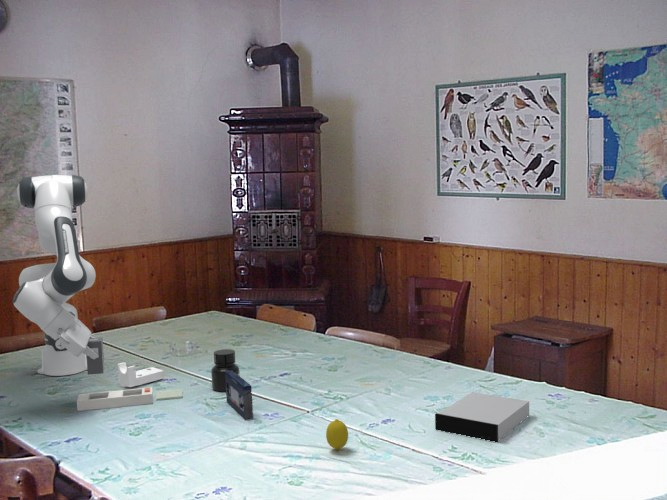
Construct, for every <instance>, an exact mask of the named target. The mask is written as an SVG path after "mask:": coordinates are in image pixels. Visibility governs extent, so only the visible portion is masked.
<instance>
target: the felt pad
mask: <svg viewBox="0 0 667 500" xmlns="http://www.w3.org/2000/svg"><path fill="white" fill-rule="evenodd" d="M155 396H156V397H155V401H168V400H176V399H177V400H179V399H183V388H174V389H165V390H156V391H155Z"/></svg>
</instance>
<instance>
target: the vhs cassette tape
mask: <svg viewBox="0 0 667 500" xmlns="http://www.w3.org/2000/svg"><path fill="white" fill-rule="evenodd" d="M225 378H226V379H225V383H226V392H225V394H226V395H225V396H226V403H227V404H228V406H230V407H231V409H233V410H234V411H235V412H236V414H238V415H239V416H240V417H241V418H242V419H243V420H244V421H249V420H253V419H254V412H253V411H254V409H253V393H252V392H253V391H252V385H251V384H250V383H249V382H248V381H246V380H245V379H244V378H243V377H241V375H240V376H239V375H237V374H236V373H235V372H233V371H232V370H229V371H225Z"/></svg>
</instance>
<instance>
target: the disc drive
mask: <svg viewBox="0 0 667 500" xmlns="http://www.w3.org/2000/svg"><path fill="white" fill-rule="evenodd" d="M527 416H529V417H530V401H529V400H523V399H517V398H513V397H511V398H510V397H506V396H498V395H492V394H486V393H480V392H474V391H472V392H470V393H469V394H467V395H465V396H464V397H463V398H461V399H459V400H458V401H456V402H454V403H452V404H451V405H449V406H448V407H446V408H444V409H443V410H441V411H440V412H436V413H434V422H435V423H434V425H435V427H434V428H435V429H436V430H435V429H434V430H435V431H438V430H441V431H440V432H443V431H445V432H444V433H448V432H450V433H449V434H453V433H456V434H455V435H458V434H461V435H460V436H462V435H466V436H465V437H467V436H470V437H469V438H472V437H475V438H474V439H477V438H481V439H480V440H482V439H485V440H484V441H487V440H490V441H489V442H491V441H495V442H494V443H496V442H497V443H498V442H499V441H500V440H501V439H503V438H504V437H505V436H506V435H508V434H509V433H510V432H511V431H513V430H514V429H515V428H516V427H518V426H519V425H520V424H521V423H522V422H521V421H523V420H524V419H525V418H526V417H527ZM526 419H527V418H526ZM526 419H525V420H526ZM525 420H524V421H525ZM524 421H523V422H524ZM520 422H521V423H520ZM519 423H520V424H519ZM518 424H519V425H518ZM517 425H518V426H517ZM514 427H515V428H514ZM513 428H514V429H513ZM512 429H513V430H512ZM510 430H511V431H510ZM509 431H510V432H509ZM508 432H509V433H508ZM507 433H508V434H507ZM504 435H505V436H504ZM503 436H504V437H503ZM502 437H503V438H502ZM499 439H500V440H499ZM498 440H499V441H498Z"/></svg>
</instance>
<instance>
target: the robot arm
mask: <svg viewBox="0 0 667 500" xmlns="http://www.w3.org/2000/svg"><path fill="white" fill-rule="evenodd" d="M88 190H89V188H88V184H87V183H86V181H85V179H84V177H82V176H80V175H77V174H76V175H75V174H72V175H69V174H68V175H67V174H66V175H65V174H49V175H38V176H26V177H23V178H21V179H20V180H19V181H18V185H17V188H16V197H17V199H18V200H19V202H20V205H22V206H23V207H24V208H26V209H27V208H28V209H34V221H35V227H36V231H37V232H38V244H39V248H41V250H43V251H44V252H46V253H48V254H51V255H54V256H56V262H51V263H42V264H35V265H31V266H28V267H26V268H23V269H22V270H21V272H20V274H19V277H18V284H19V288H18V289H17V290H16V292H15V294H14V295H13V297H12V298H13V299H12V304H13V306H14V307H15V309H17V311H19V313H20V314H22V315H23V317H25V318H26V319H28V320H29V321H30V322H31V323H34V324H36V325H37V326H38V327H39V328H40V330H41V331H42V332H44V344H45V345H44V347H43V348H42V349H41V367H39V369H37V371H36V372H37V374H42V375H47V376H52V377H54V376H55V377H58V376H62V377H63V376H69V375H75V374H79V373H82V372H85V371H88V370H87V356H90V357H91V358H92V359H96V358H97V356H98V354H97V353H96V352H95V351H93V350H91V349H90V348H89V347H88V346H87V344H88V340H89V338H91V336H92V331H91V330H90V329H89V327H87V326H86V325H85V324H84V323H83V322H82V321H81V320H80V319H79V318H78V315H79V314H78V311H77V308H76V307H75V306H74V305H72V304H70V303H68V302H67V301H69V300H70V299H71V298H72V297H73V296H75V294H77V293H78V292H81V291H83V290H86V289H90V288H92V287H93V285H94V283H95V282H96V277H97V275H96V274H97V273H96V270H95V267H94V266H93V265H92V263H90V262H89V261H87V260H86V259H85V258H83V257H82V256H81V255H80V252H79V245H78V239H77V233H76V228H75V224H74V221H73V214H72V213H73V211H72V207H73V209H76V208H77V207H80V206H82V205H83V204H85V202H86V200H87V198H88V193H89V191H88Z"/></svg>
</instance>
